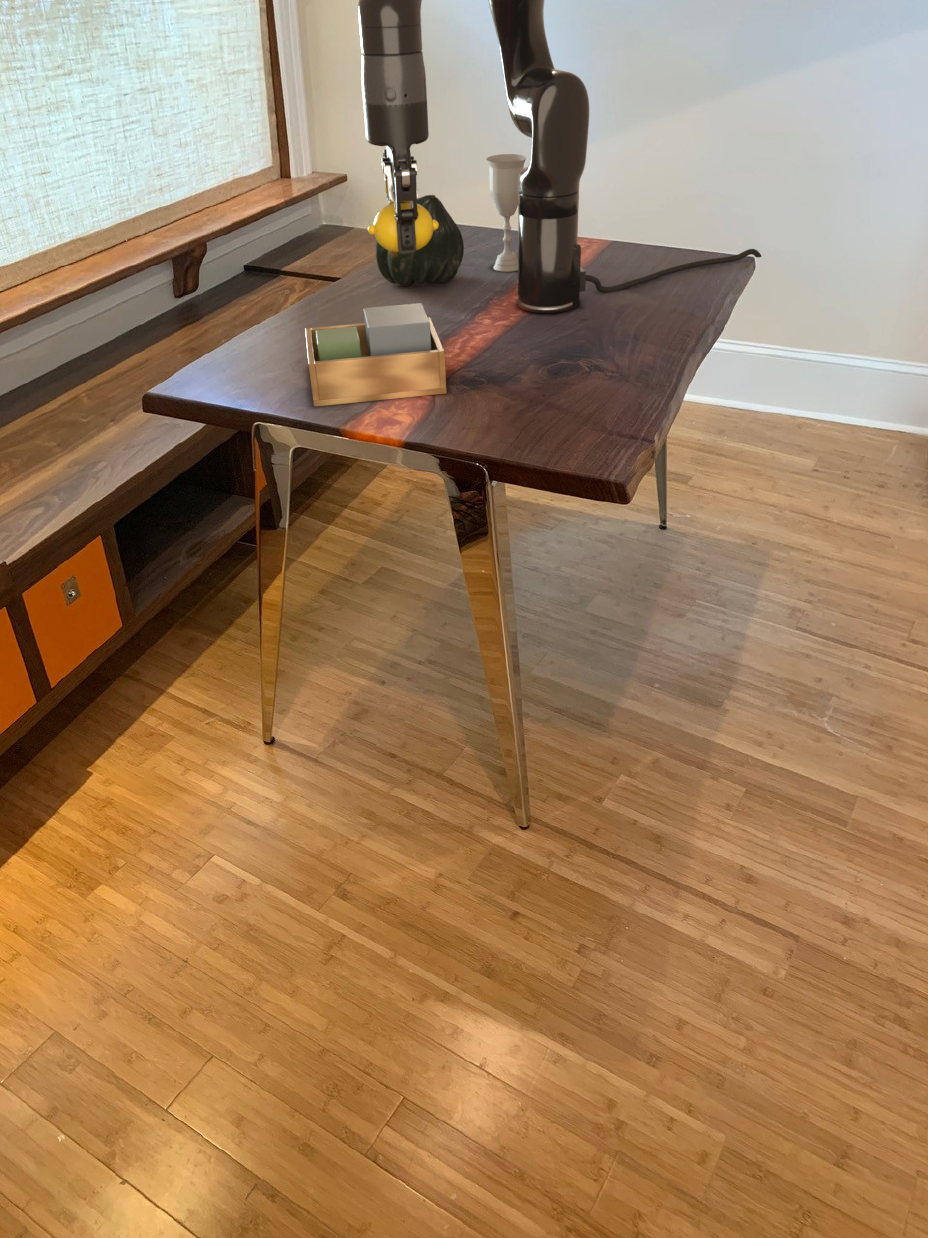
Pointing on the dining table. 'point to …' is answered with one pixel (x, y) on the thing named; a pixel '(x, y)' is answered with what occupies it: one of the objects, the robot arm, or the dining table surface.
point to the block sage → (338, 343)
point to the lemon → (388, 229)
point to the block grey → (397, 329)
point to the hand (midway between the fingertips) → (404, 245)
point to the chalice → (505, 200)
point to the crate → (375, 372)
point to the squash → (426, 252)
